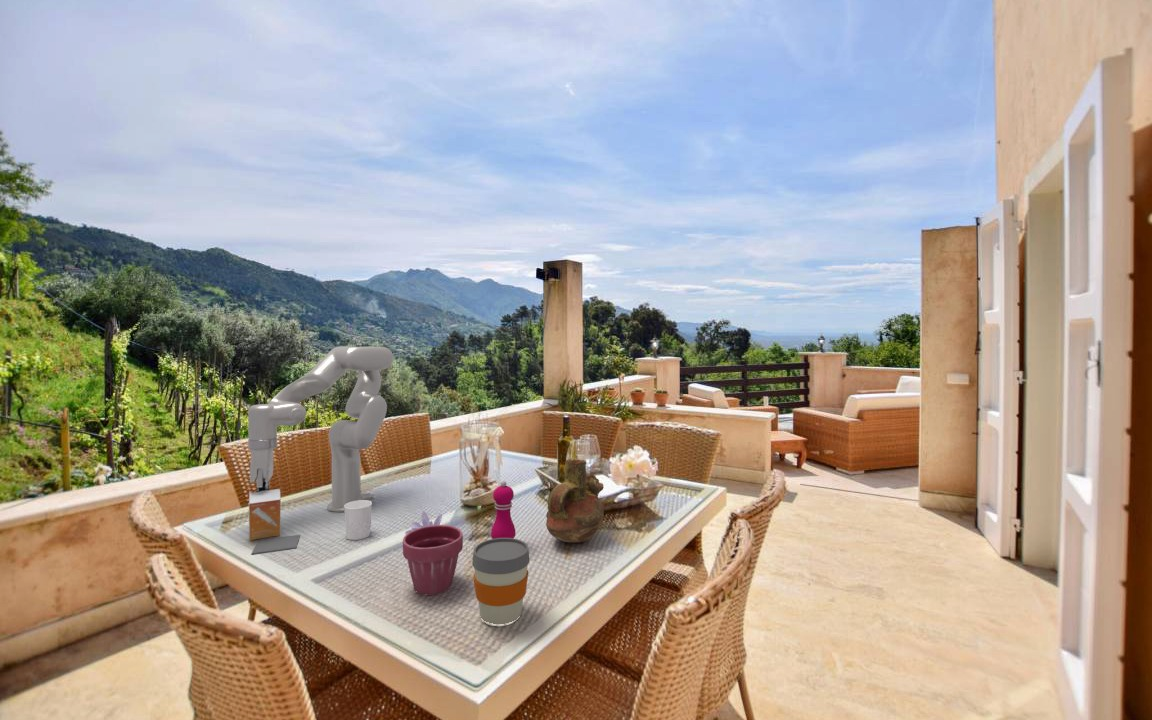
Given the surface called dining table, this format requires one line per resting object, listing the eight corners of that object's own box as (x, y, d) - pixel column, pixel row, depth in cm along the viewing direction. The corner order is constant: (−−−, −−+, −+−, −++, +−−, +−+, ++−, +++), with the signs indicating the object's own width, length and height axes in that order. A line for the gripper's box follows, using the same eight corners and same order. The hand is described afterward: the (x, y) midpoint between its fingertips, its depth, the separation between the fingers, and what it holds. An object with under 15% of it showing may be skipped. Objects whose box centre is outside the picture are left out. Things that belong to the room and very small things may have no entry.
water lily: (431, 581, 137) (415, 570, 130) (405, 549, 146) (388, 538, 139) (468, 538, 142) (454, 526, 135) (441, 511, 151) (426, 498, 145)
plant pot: (423, 608, 110) (423, 552, 110) (391, 587, 119) (391, 536, 119) (474, 584, 121) (474, 534, 120) (441, 567, 130) (441, 520, 130)
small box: (249, 541, 146) (248, 503, 142) (249, 528, 151) (248, 492, 147) (280, 535, 150) (280, 499, 147) (279, 523, 155) (280, 488, 152)
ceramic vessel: (621, 531, 156) (622, 454, 155) (575, 560, 135) (576, 471, 134) (578, 520, 166) (579, 447, 165) (528, 545, 145) (529, 462, 144)
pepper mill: (519, 545, 145) (520, 478, 144) (508, 554, 138) (508, 485, 137) (498, 541, 147) (498, 476, 147) (486, 551, 140) (486, 482, 140)
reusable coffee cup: (488, 596, 115) (488, 534, 115) (537, 605, 112) (538, 541, 111) (461, 625, 103) (461, 556, 103) (515, 636, 100) (515, 565, 99)
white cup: (377, 533, 152) (377, 502, 152) (356, 543, 145) (356, 510, 145) (359, 529, 156) (359, 498, 155) (338, 538, 149) (338, 506, 148)
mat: (300, 535, 150) (300, 534, 150) (296, 548, 141) (296, 547, 141) (258, 541, 146) (258, 540, 146) (251, 554, 136) (251, 553, 136)
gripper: (253, 440, 156) (254, 496, 157) (243, 449, 143) (243, 511, 143) (280, 439, 159) (280, 494, 160) (272, 448, 146) (273, 508, 146)
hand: (263, 502), depth 152 cm, fingers closed
